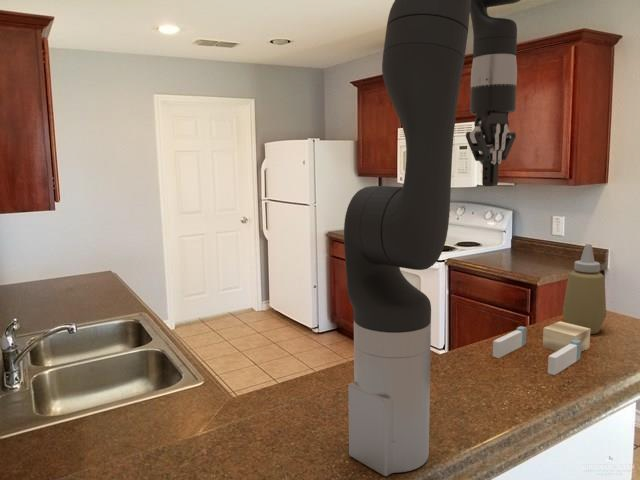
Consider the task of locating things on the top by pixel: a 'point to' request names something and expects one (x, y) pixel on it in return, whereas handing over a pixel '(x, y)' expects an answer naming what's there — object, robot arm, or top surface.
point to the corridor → (555, 360)
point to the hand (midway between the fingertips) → (489, 185)
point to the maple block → (565, 335)
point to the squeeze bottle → (585, 294)
